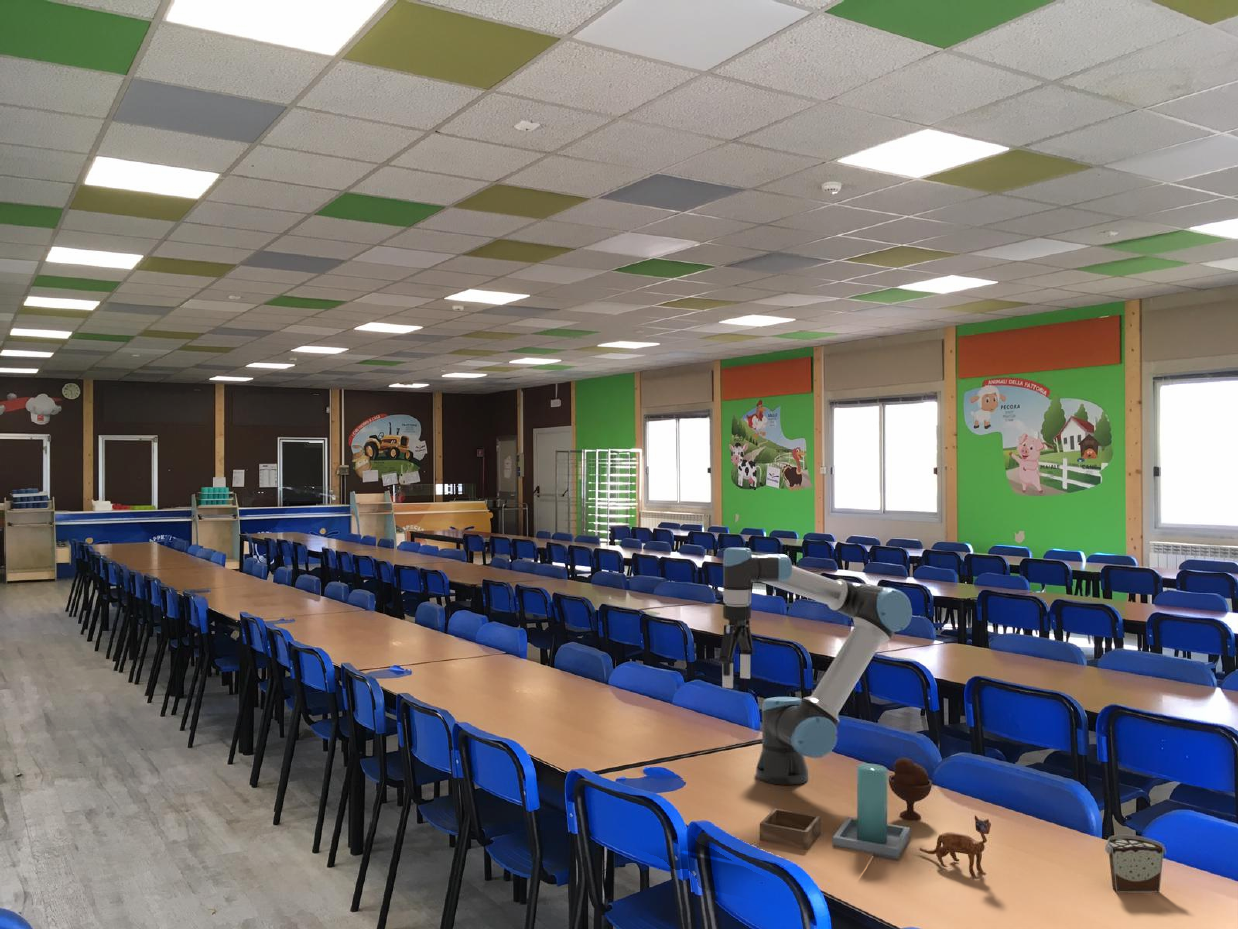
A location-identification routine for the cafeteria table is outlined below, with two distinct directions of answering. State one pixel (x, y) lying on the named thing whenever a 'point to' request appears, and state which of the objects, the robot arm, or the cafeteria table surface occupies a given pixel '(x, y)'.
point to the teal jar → (872, 803)
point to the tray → (890, 850)
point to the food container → (1135, 863)
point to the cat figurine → (963, 846)
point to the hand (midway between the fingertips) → (736, 682)
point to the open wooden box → (790, 828)
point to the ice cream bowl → (910, 785)
